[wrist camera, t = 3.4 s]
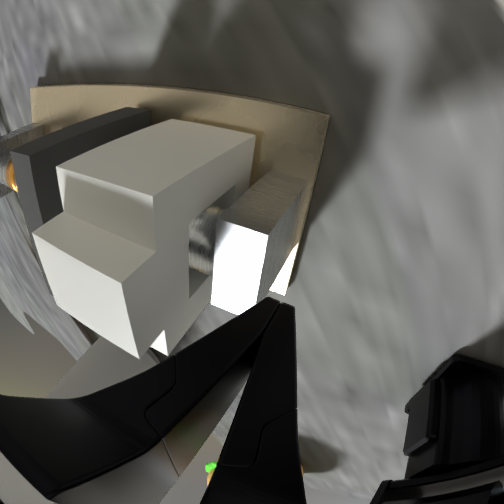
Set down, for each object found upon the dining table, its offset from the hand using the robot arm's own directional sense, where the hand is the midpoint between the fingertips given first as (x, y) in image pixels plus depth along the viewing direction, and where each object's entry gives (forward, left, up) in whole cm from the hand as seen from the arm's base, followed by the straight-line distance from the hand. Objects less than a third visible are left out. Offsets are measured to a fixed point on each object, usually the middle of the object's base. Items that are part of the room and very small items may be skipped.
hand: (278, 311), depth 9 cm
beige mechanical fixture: (+11, 0, -6) cm, 12 cm away
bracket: (+5, 0, -5) cm, 7 cm away
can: (+13, +20, -6) cm, 25 cm away
